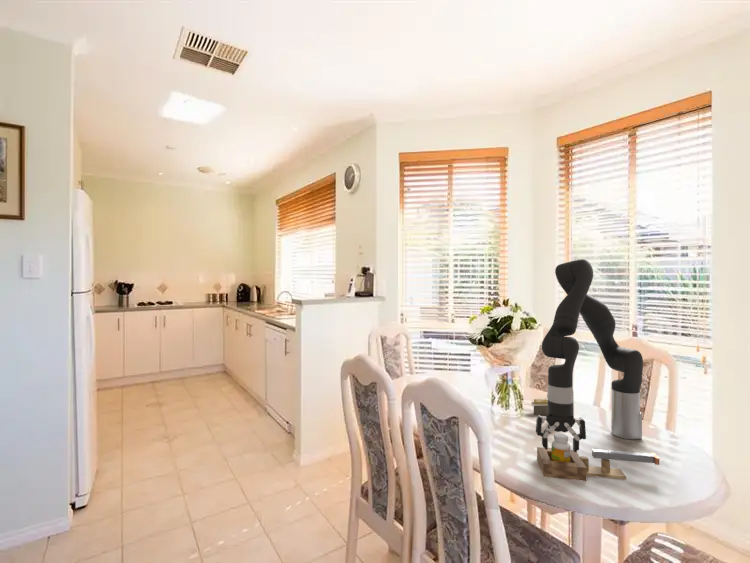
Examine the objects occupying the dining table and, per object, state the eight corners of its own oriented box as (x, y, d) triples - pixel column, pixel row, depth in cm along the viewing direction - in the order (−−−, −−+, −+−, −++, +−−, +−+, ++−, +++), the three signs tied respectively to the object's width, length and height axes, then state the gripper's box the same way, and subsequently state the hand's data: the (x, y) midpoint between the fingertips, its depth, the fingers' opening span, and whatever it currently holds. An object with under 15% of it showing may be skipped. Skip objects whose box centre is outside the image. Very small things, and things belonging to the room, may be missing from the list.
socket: (576, 462, 131) (576, 450, 131) (586, 481, 119) (586, 467, 119) (537, 458, 134) (537, 447, 134) (543, 476, 122) (543, 463, 122)
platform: (516, 409, 183) (516, 395, 183) (555, 409, 183) (555, 395, 183) (526, 419, 171) (526, 404, 171) (568, 418, 171) (568, 403, 171)
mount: (620, 471, 125) (620, 457, 125) (626, 479, 120) (626, 464, 120) (578, 467, 128) (578, 453, 128) (583, 475, 123) (583, 461, 123)
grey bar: (653, 459, 122) (654, 452, 122) (659, 464, 119) (659, 458, 119) (591, 454, 126) (591, 447, 126) (594, 459, 123) (594, 452, 123)
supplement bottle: (547, 463, 128) (547, 433, 128) (560, 460, 130) (560, 431, 130) (561, 471, 123) (561, 440, 123) (574, 468, 125) (574, 437, 125)
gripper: (538, 401, 124) (538, 453, 125) (588, 404, 121) (588, 457, 121) (534, 394, 131) (534, 443, 132) (581, 396, 128) (581, 446, 129)
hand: (560, 449), depth 127 cm, fingers open, 8 cm apart
